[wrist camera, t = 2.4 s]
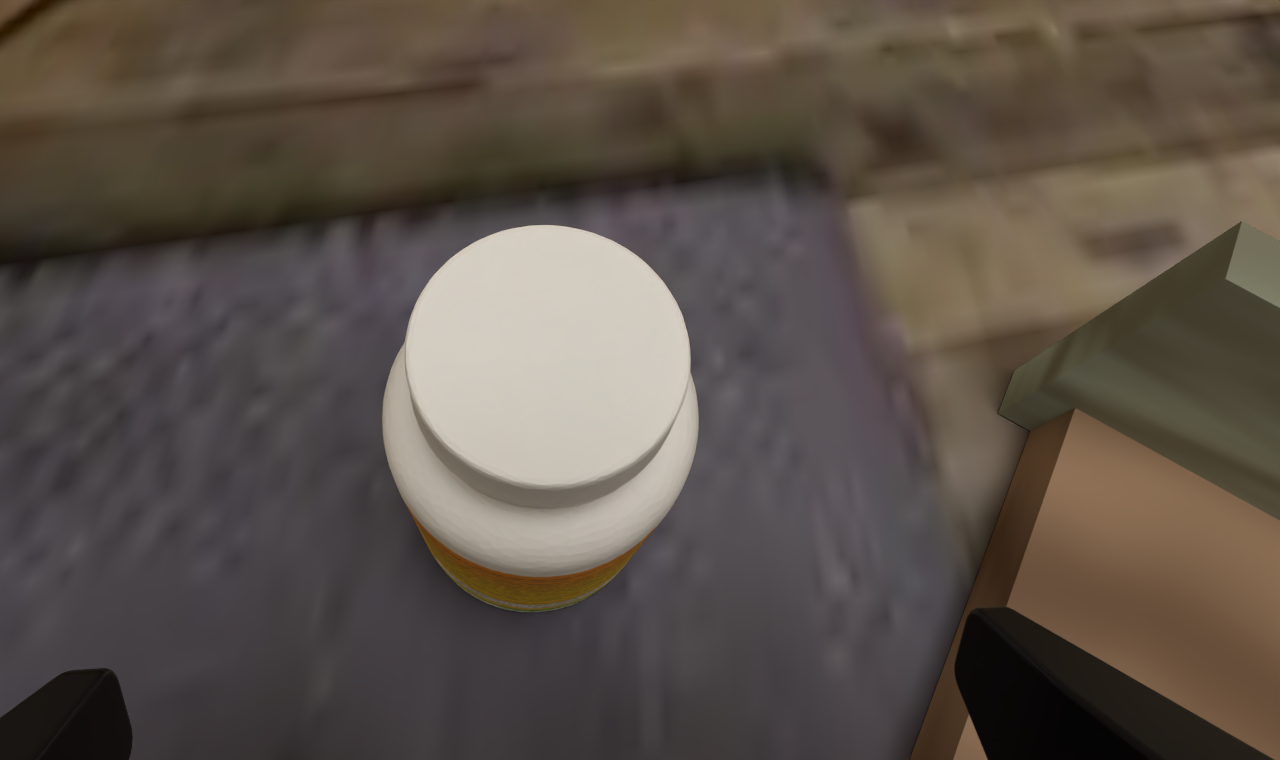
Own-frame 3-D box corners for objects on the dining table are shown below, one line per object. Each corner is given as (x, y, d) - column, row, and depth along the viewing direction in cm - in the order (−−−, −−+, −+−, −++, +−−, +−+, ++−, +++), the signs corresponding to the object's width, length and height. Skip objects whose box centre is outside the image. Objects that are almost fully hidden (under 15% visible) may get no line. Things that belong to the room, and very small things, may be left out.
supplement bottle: (675, 569, 20) (803, 467, 11) (457, 649, 19) (410, 605, 10) (601, 372, 22) (663, 145, 13) (395, 433, 21) (306, 228, 12)
